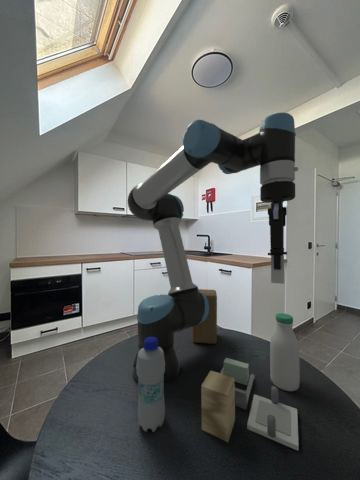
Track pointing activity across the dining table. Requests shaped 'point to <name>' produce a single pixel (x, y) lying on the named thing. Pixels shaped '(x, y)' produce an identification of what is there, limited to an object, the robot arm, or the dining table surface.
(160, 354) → the bottle
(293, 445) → the seat plate
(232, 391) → the block
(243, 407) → the housing frame
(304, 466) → the dining table surface
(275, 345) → the milk bottle
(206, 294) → the wooden block
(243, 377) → the cover
